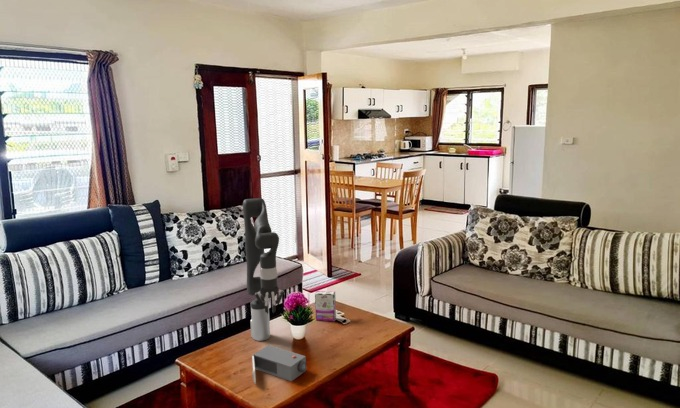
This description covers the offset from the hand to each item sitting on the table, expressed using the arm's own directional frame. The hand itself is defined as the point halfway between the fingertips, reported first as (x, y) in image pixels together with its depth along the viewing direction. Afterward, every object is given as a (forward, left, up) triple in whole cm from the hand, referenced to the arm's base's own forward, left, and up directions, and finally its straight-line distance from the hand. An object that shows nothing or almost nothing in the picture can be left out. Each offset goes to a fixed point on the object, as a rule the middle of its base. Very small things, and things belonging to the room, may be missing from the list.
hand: (270, 312), depth 219 cm
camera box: (+4, 0, -27) cm, 27 cm away
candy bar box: (-9, +57, -27) cm, 64 cm away
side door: (-2, -11, -26) cm, 28 cm away
